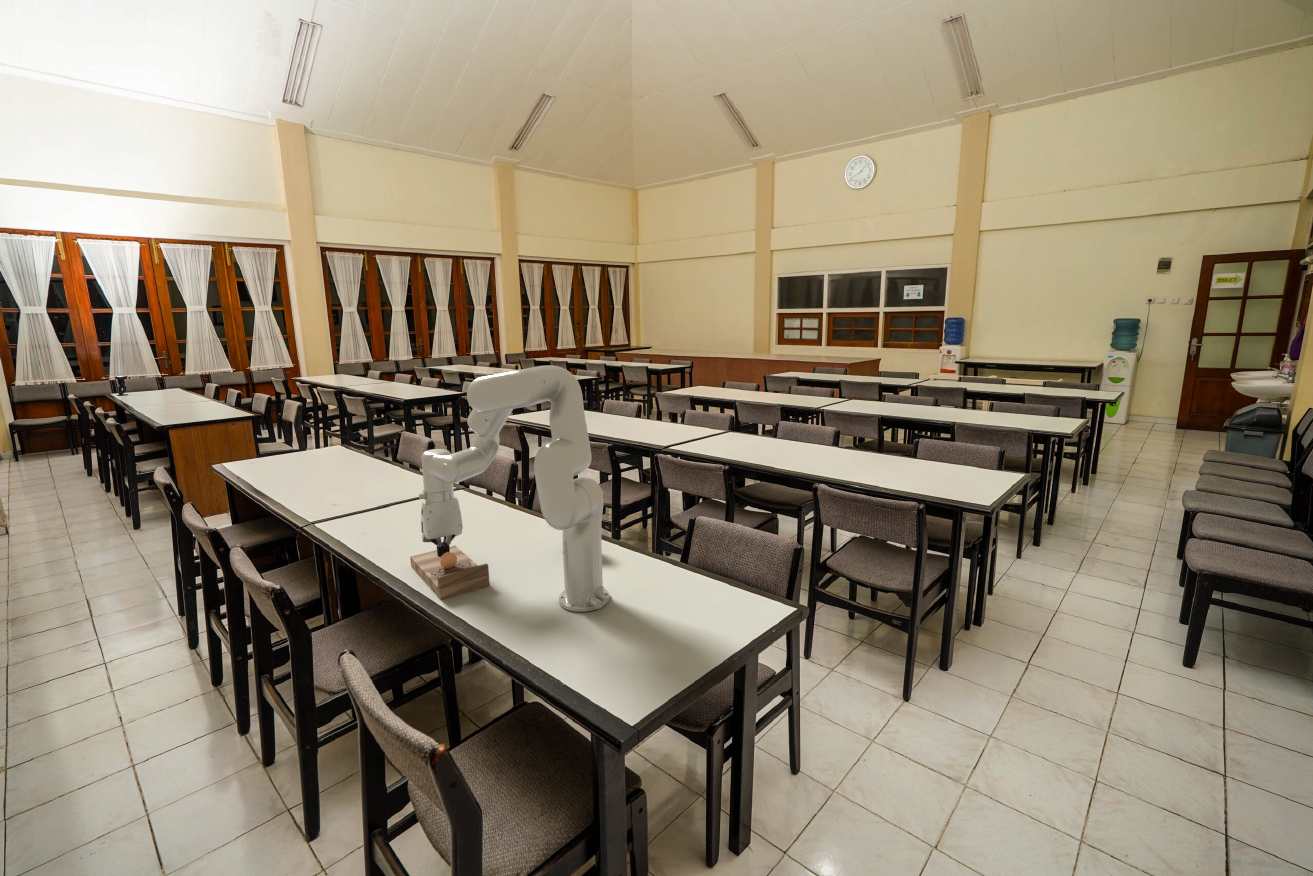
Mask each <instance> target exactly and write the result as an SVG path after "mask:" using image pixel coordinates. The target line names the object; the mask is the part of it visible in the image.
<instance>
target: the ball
mask: <svg viewBox="0 0 1313 876" xmlns="http://www.w3.org/2000/svg"><path fill="white" fill-rule="evenodd" d="M456 563H457V557H456V555H455V554H454V553H452V552H446V553H444V554H443V555H442V556H441V558H440V564H441V566H442V567H444V568H447V569H449V568H452V567H454V566H455V565H456Z"/></svg>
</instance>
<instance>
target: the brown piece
mask: <svg viewBox="0 0 1313 876" xmlns="http://www.w3.org/2000/svg"><path fill="white" fill-rule="evenodd" d="M449 548H450V552H452V553H454V554H455V555H456V557H457V563H456V565H455V566H454V567H452V568H449V569H447V568H444V567H442V566H441V564H440V557H438V555H437V549H436V550H432V551H427V552H423V553H419V554H416V555H411V556H409V558H410V566H411V568H412V569H413V571H415V572H416V574H417V576H419V577H420V578H421V579H422V581H423V582H424V583H425V584H426V585H427V586H428V587H429V589H430V590H431V591H433V593H434V595H435V596H436V597H437V598H438V599H439V600H440V601H442V600H445V599H449V598H452V597H455V596H459V595H462V594H465V593H469V592H473V591H476V590H479V589H483V588H486V587H489V586H491V584H490V571H489V564H488V563H483V564H479V565H478V564H477V563H476V562H475V561H473V560H472V559H471V558H470V557H469V556H468V555H467V554H465V553H464V552H463V551H462V550H461V549H460V548H459V547H458V546H456V545H453V546H449Z"/></svg>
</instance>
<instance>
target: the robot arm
mask: <svg viewBox="0 0 1313 876" xmlns="http://www.w3.org/2000/svg"><path fill="white" fill-rule="evenodd" d="M583 397H584V396H583V393H582V388H581V385H580V383H579V381H578V379H577V378H576V376H575V375H574V374H573V373H572V372H571V371H569V370H567V369H566V368H564V367H562V366H559V365H548V364H547V365H538V366H532V367H527V368H522V369H516V370H513V371H508V372H507V371H506V372H502V373H496V374H495V373H494V374H489V375H483V376H479V377H477V378H475V379H474V380H472V381H471V382H470V385H469V386H468V388H467V391H466V398H467V403H468V405H469V406H470V407H471V408H472V410H471V411H470V412H469V415H468V416H467V420H466V421H467V426H468V428H469V429H470V430H471V431H472V432H473V433H475V434H476V437H475V439H474V440H473V442H472V443H471V445H470V447H469V448H466V449H463V450H459V451H457V452H454V453H451V452H450V450H448V449H446V448H433V449H428V450H425V451H423V453H422V454H421V468H422V469H421V471H422V481H423V491H422V492H421V493H419V494H418V498H419V500H421V499H422V502H421V503H422V504H421V509H420V510H421V511H420V532H421V533H422V535H421V541H422V542H423V543H432V544H434V545H436V550H437V555H438V557H440V558H441V556H442V555H443V554H444V553H446V552H450V548H449V547H450V545H451V544H452V541H453V540H454V539H455V538H456V537H458V536H460V535H462V534H463V529H464V527H463V525H464V524H463V518H462V517H463V516H462V512H461V507H460V503H459V498H458V497H457V496H455V493H454V492H455V491H454V490H455V488H454V484H457V483H461V482H463V481H465V480H466V481H467V480H468V479H471V478H472V477H476V476H478V475H480V474H482V473H483V472H485V471H486V470H488V468H489V466H490V465H491V463H492V461H493V460H494V459H495V457H496V455H497V453H498V451H499V449H500V439H501V438H500V432H501V430H502V429H503V427H504V425H505V423H506V422H507V420H508V418H509V417H510V415H511V414H512V412H513V410H515V409H520V408H526V407H532V406H534V405H537V404H542V403H545V402H549V403H551V404H550V405H551V406H550V411H549V417H548V419H549V426H550V431H551V432H550V433H551V441H550V442H548V443H545V444H544V445H542V446H541V447H540V448H539V449H538V450H537V452H536V454H535V457H534V461H533V470H534V479H535V484H536V489H537V494H538V500H539V505H540V510H541V514H542V516H543V519H544V520H545V522H546V523H547V524H548V525H549V526H550V527H551V528H553V529H555V530H557V531H562V536H561V537H562V557H563V558H562V561H563V577H564V578H563V579H564V580H563V581H564V590H563V591H562V592H561V593H560V594H559V596H558V603H559V605H560V606H561V608H564V609H565V610H567V611H570V612H575V613H576V612H578V613H579V612H580V613H581V612H583V613H584V612H592V611H595V610H600V609H601V608H603V607H604V606H606V605H607V604H608V603H609V601H610V592H609V591H608V589H606V588H604V584H603V582H604V581H603V553H602V549H603V548H602V519H603V509H604V502H605V501H604V499H605V498H604V493H603V490H602V489H603V488H602V487H601V486H600V484H599V483H598V482H597V481H596V480H594V479H593V478H590V477H588V476H587V477H585V476H584V477H578V478H574V477H575V476H577V475H580V474H581V473H583V472H585V471H586V470H587V469H588V468H589V467H590V465H591V464H592V460H593V459H592V450H591V443H590V437H589V432H588V431H589V430H588V426H587V419H586V415H585V408H584V399H583ZM442 539H443V540H442Z"/></svg>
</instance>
